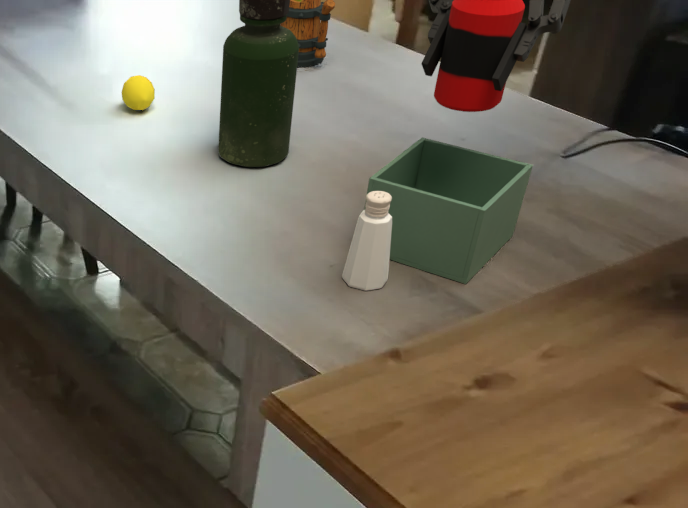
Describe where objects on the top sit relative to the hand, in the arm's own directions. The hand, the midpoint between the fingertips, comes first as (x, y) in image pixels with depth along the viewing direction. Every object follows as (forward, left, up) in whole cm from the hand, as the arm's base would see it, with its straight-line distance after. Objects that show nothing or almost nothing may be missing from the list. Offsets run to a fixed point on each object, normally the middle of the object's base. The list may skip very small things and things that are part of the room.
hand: (461, 77), depth 105 cm
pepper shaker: (+2, +13, -21) cm, 25 cm away
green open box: (-1, 0, -20) cm, 21 cm away
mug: (+46, -47, -21) cm, 69 cm away
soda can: (0, -3, -4) cm, 5 cm away
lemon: (+57, -13, -21) cm, 62 cm away
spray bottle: (+32, -9, -21) cm, 39 cm away
